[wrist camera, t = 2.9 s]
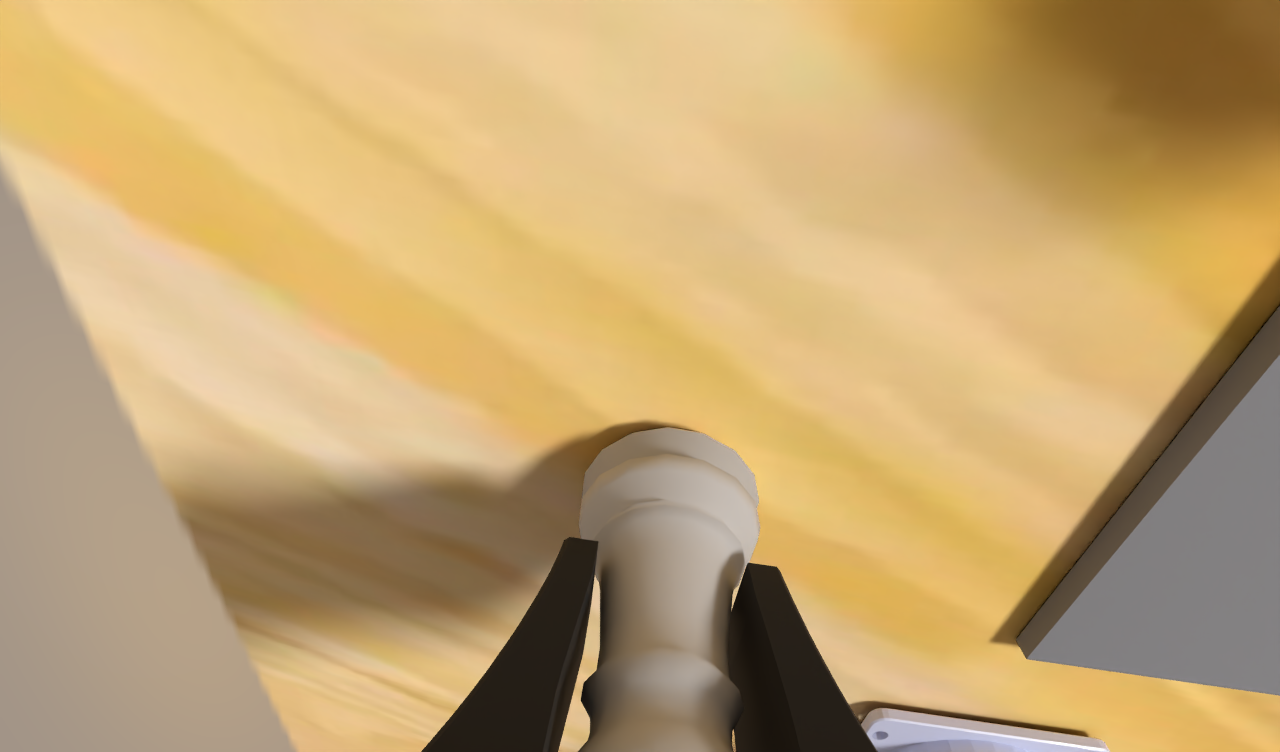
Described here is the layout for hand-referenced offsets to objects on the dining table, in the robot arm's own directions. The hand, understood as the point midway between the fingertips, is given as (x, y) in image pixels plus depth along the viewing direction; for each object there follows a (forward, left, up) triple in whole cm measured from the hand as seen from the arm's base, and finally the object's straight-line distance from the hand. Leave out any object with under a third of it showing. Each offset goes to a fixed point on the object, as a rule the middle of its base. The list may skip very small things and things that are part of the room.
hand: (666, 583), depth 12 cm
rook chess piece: (0, 0, -3) cm, 3 cm away
